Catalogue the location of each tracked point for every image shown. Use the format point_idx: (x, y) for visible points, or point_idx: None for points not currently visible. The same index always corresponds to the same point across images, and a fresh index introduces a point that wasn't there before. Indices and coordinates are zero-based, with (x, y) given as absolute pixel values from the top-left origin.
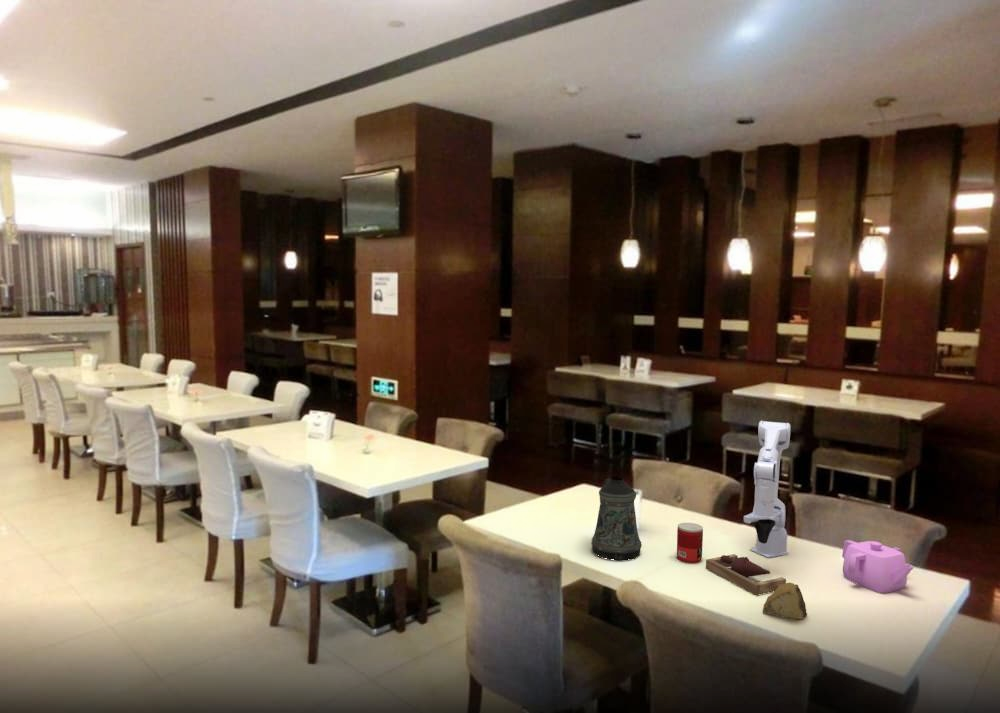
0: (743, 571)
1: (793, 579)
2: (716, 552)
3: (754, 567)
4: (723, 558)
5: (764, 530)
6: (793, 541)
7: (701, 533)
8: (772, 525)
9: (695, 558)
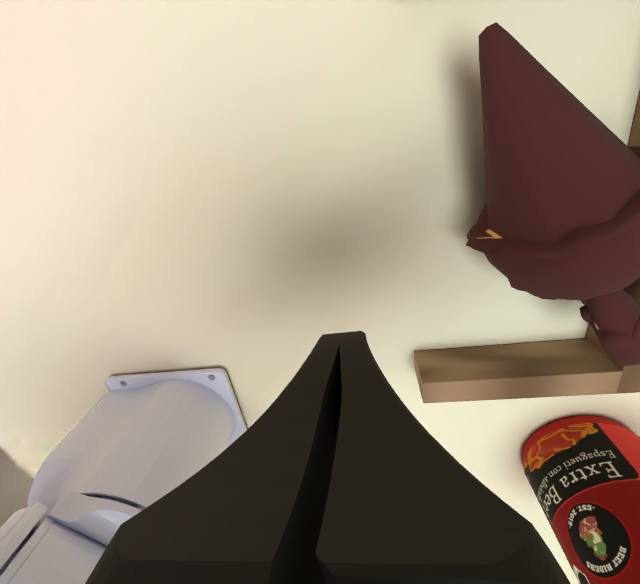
0: (637, 151)
1: (238, 102)
2: None
3: (586, 118)
4: None
5: (417, 437)
6: (42, 451)
7: None
8: (214, 509)
9: (614, 433)
